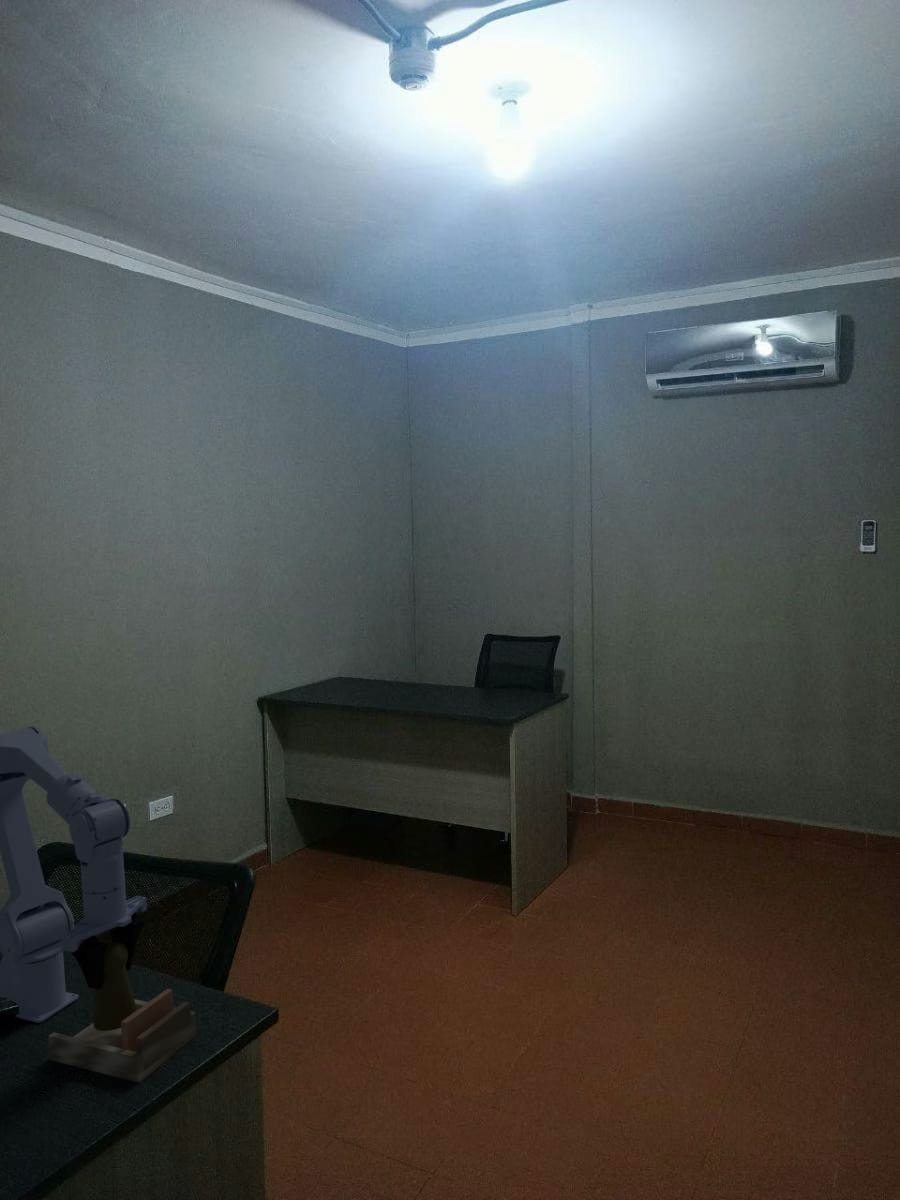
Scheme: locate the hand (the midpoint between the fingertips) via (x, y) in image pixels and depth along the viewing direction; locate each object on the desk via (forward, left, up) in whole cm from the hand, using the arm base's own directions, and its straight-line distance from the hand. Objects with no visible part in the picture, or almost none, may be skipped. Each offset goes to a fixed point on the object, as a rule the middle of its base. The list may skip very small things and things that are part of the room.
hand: (109, 977), depth 127 cm
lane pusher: (+7, 0, -9) cm, 11 cm away
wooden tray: (+2, 0, -10) cm, 10 cm away
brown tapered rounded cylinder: (+1, 0, -6) cm, 6 cm away
